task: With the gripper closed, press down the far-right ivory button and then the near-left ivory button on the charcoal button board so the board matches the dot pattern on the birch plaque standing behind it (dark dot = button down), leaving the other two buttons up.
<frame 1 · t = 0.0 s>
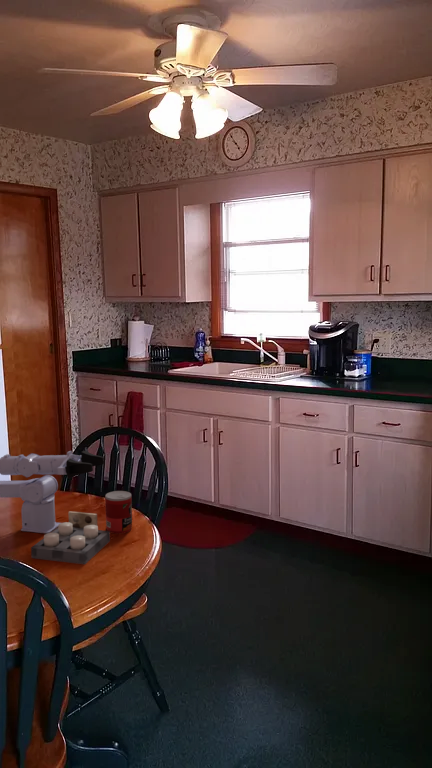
hand: (98, 464, 181), 22 cm above the table, tool horizontal, fingers open, 7 cm apart
button board: (72, 549, 173), on the table
button far left: (65, 529, 178), point 4 cm above the table, slide at 0.0 cm
button near right: (77, 543, 168), point 4 cm above the table, slide at 0.0 cm
pattern plaque: (83, 533, 184), on the table
button near left: (51, 540, 170), point 4 cm above the table, slide at 0.0 cm
button far right: (90, 532, 176), point 4 cm above the table, slide at 0.0 cm
canned food: (119, 529, 188), on the table
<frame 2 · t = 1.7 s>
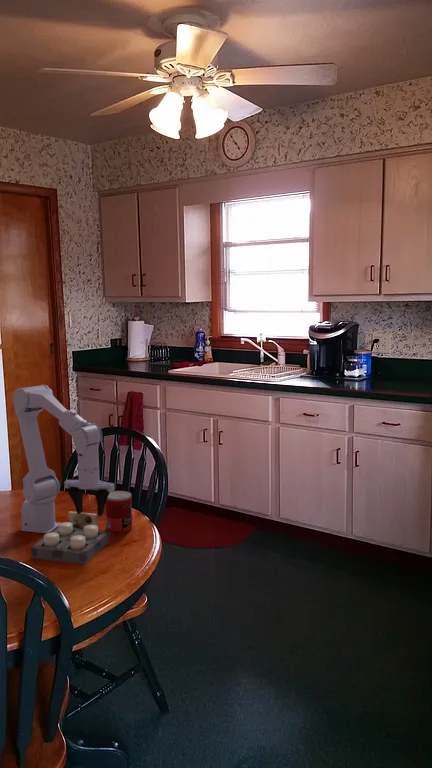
hand: (90, 513, 175), 9 cm above the table, tool pointing down, fingers open, 6 cm apart
nothing on the table moved.
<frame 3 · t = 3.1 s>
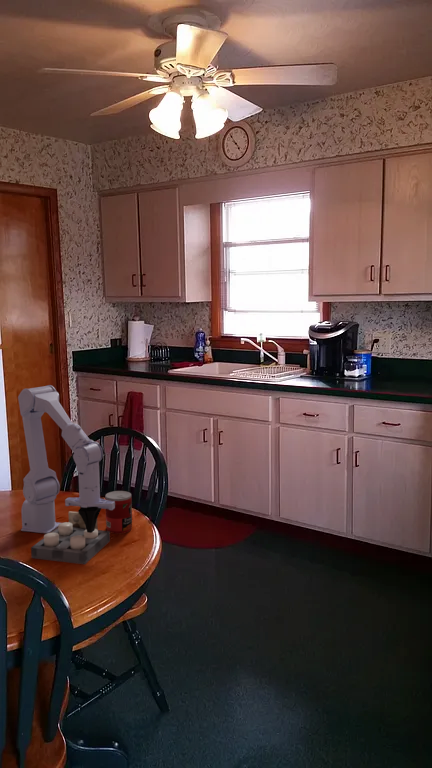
hand: (90, 531, 175), 4 cm above the table, tool pointing down, fingers closed, pressing on button far right
button far right: (91, 535, 176), point 3 cm above the table, slide at 1.1 cm, touching gripper
everything else where it was.
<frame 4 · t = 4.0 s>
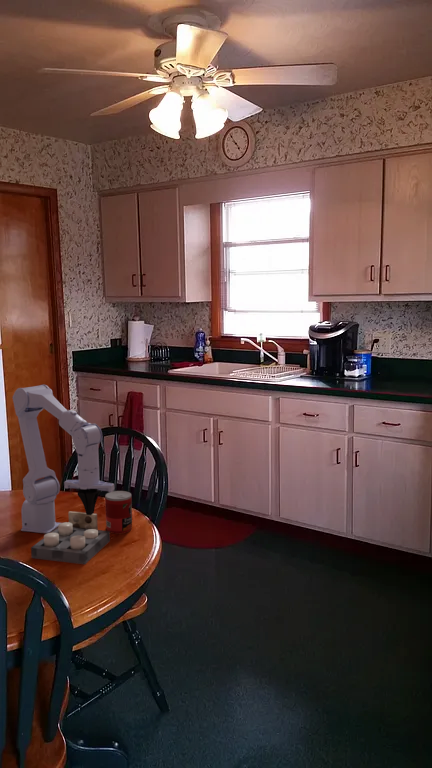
hand: (90, 513, 175), 9 cm above the table, tool pointing down, fingers closed
button far right: (91, 536, 176), point 3 cm above the table, slide at 1.3 cm
everything else where it was.
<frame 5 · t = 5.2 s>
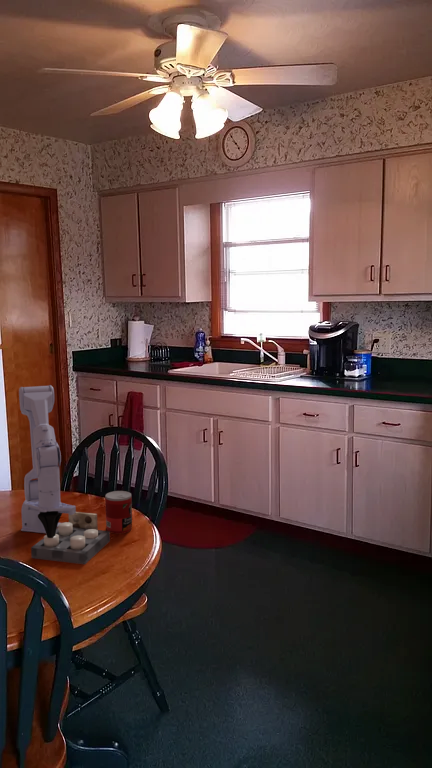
hand: (51, 536, 170), 5 cm above the table, tool pointing down, fingers closed, pressing on button near left
button near left: (51, 541, 170), point 4 cm above the table, slide at 0.3 cm, touching gripper
everything else where it was.
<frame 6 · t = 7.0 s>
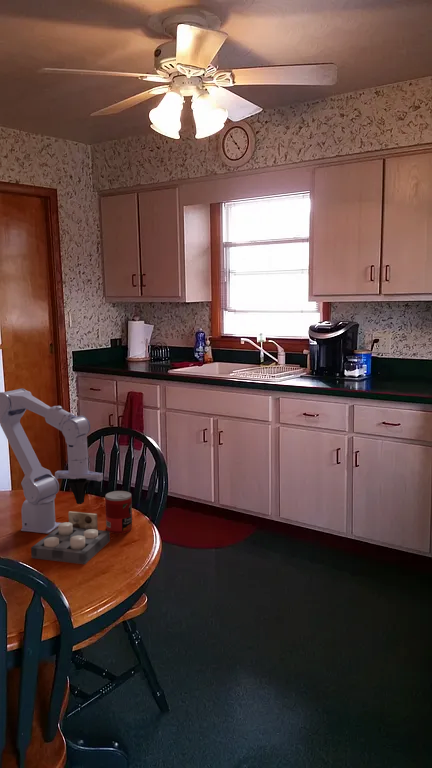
hand: (80, 503, 181), 10 cm above the table, tool pointing down, fingers closed
button near left: (51, 544, 170), point 3 cm above the table, slide at 1.3 cm
everything else where it was.
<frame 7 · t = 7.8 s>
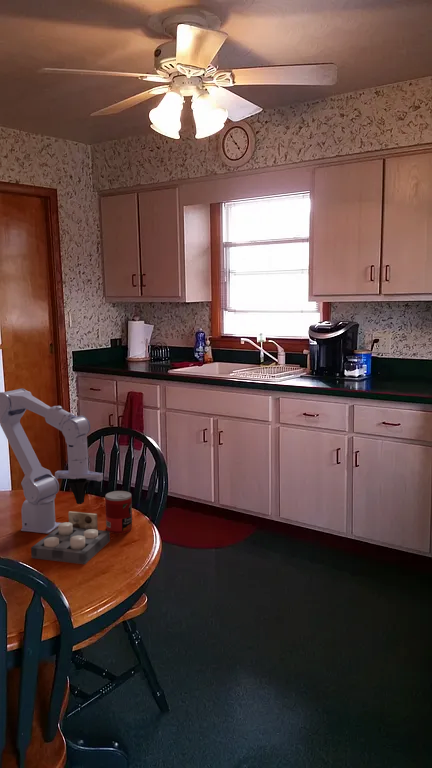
hand: (80, 503, 181), 10 cm above the table, tool pointing down, fingers closed
nothing on the table moved.
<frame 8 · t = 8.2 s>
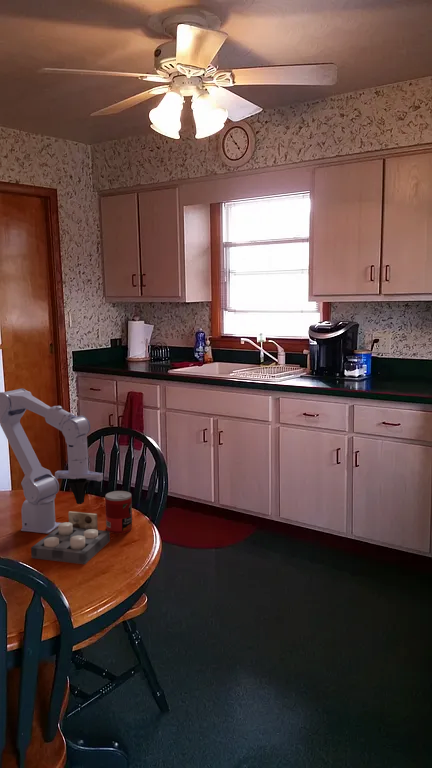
hand: (80, 503, 181), 10 cm above the table, tool pointing down, fingers closed
nothing on the table moved.
at the end: button far right slide at 1.3 cm; button near left slide at 1.3 cm; button near right slide at 0.0 cm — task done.
